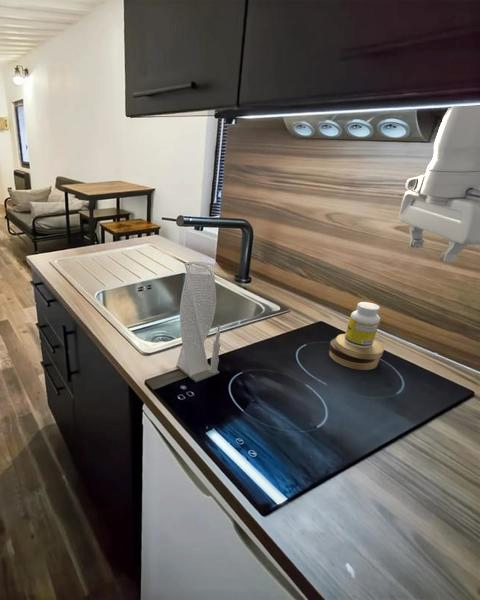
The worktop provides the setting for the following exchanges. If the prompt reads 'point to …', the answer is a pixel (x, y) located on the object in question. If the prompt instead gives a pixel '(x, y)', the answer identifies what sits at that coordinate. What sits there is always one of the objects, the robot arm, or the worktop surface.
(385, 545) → the worktop surface
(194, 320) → the skyscraper
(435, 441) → the worktop surface
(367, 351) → the coaster pile
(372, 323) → the supplement bottle
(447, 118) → the robot arm
